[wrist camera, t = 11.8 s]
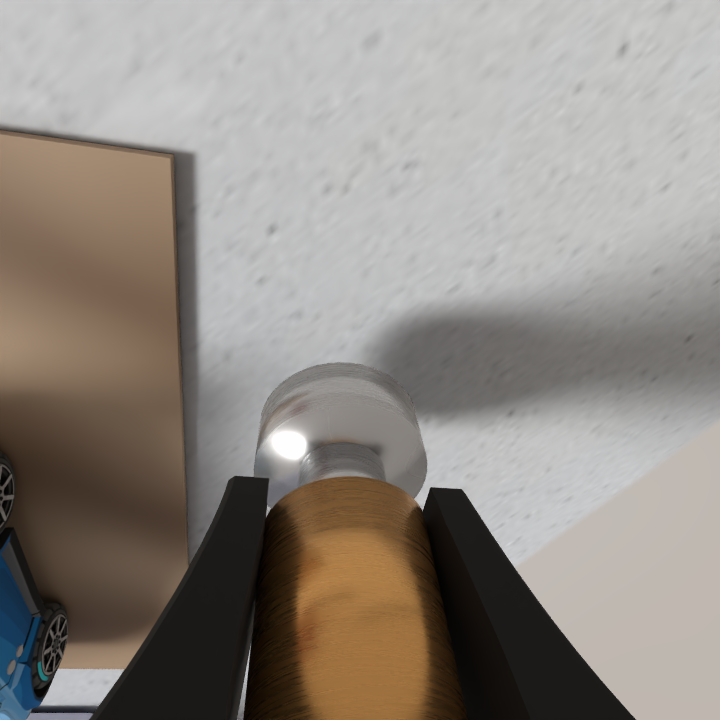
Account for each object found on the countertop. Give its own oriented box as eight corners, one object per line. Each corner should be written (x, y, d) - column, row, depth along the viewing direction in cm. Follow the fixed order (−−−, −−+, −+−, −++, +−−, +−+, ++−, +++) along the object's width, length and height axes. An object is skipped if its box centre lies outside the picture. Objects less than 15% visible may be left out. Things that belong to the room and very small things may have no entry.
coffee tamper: (419, 471, 13) (501, 834, 7) (277, 490, 13) (246, 867, 7) (411, 352, 11) (515, 722, 5) (244, 374, 11) (166, 768, 5)
